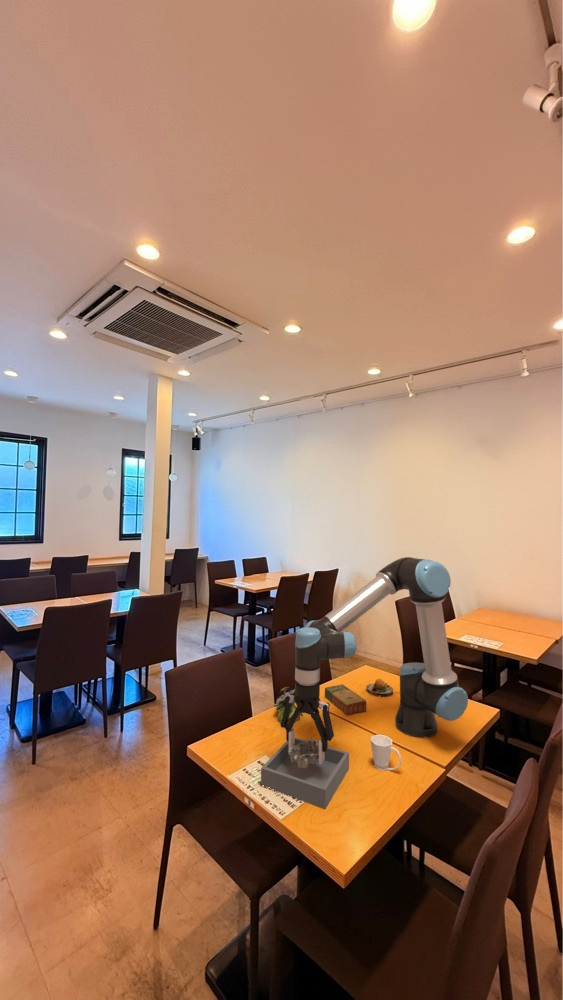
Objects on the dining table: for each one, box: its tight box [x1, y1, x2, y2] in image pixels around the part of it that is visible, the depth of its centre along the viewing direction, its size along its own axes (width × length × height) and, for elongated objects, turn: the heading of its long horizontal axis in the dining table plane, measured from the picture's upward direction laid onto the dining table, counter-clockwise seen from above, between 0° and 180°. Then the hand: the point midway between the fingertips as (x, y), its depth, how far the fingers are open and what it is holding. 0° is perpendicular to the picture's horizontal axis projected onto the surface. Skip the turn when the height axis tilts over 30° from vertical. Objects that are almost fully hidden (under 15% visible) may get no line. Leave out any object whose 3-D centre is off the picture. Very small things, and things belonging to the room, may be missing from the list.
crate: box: [260, 736, 350, 810], centre depth 123 cm, size 20×20×5 cm
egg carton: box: [288, 736, 319, 768], centre depth 123 cm, size 10×7×4 cm
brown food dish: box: [365, 678, 394, 698], centre depth 185 cm, size 12×12×8 cm
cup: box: [370, 734, 402, 772], centre depth 128 cm, size 7×10×8 cm
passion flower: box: [273, 686, 304, 722], centre depth 161 cm, size 13×12×14 cm
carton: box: [324, 684, 367, 716], centre depth 172 cm, size 10×18×5 cm, turn 23°
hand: (306, 756), depth 123 cm, fingers closed on egg carton, 9 cm apart
